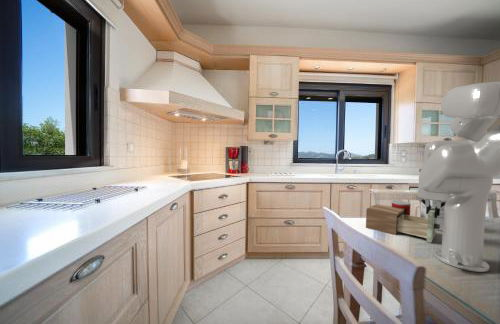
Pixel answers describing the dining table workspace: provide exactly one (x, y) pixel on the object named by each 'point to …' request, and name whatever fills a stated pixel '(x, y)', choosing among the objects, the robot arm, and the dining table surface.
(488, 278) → the dining table surface
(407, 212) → the canned food
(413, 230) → the drawer
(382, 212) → the cabinet
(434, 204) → the supplement box
